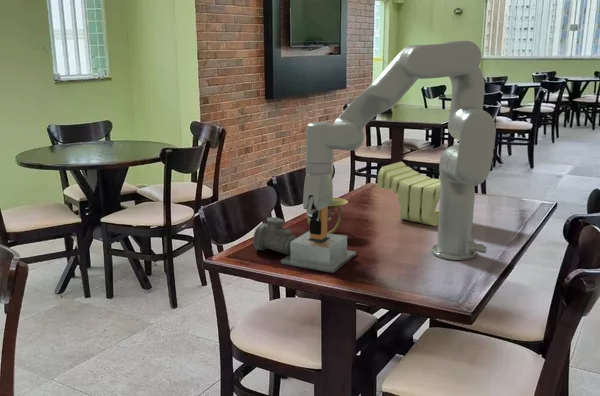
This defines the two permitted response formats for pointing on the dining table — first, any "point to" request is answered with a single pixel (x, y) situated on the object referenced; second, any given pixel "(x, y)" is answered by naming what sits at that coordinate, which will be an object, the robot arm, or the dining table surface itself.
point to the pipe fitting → (273, 236)
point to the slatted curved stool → (412, 192)
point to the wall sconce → (335, 203)
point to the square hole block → (319, 252)
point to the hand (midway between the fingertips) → (318, 231)
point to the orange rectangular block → (323, 224)
